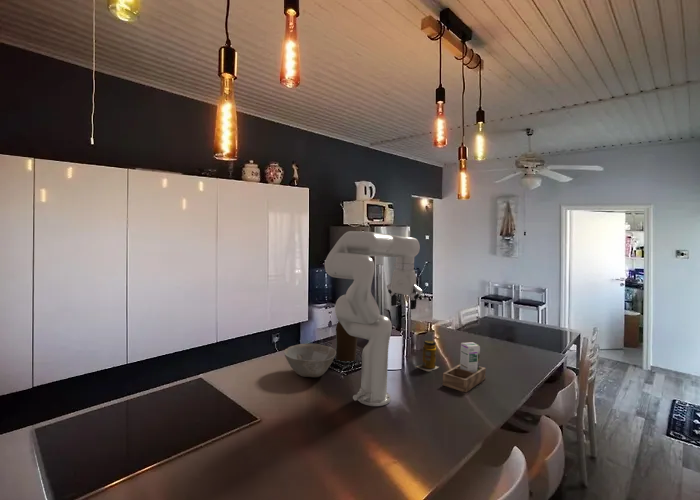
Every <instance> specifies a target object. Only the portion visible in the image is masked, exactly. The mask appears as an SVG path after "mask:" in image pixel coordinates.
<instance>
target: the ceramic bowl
mask: <svg viewBox="0 0 700 500" xmlns="http://www.w3.org/2000/svg"><path fill="white" fill-rule="evenodd" d="M283 354H284V357H285V359H286V361H287V362H288V364H289V365H290V367H291V369H292V370H293V371H294V372H295V373H296V374H297V375H298V376H301V377H303V378H320V377H322V376H323V375H324V374H325V373H326V372H327V371H328V369H329V368H330V366H331V364H333V361H334V359H335V358H336V348H333V347H330V346H328V345H324V344H319V343H299V344H295V345H291V346H288V347H287V348H285V349H284V350H283Z"/></svg>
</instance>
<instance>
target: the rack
mask: <svg viewBox="0 0 700 500" xmlns="http://www.w3.org/2000/svg"><path fill="white" fill-rule="evenodd" d="M486 373H487V370H486V367H483V366H480V365H479V371H477V372H475V373H473V372H470V371H466V370H463V369H460V363H459V364H457V365H455V366H453V367H452V368H450V369H448V370H447V371H444V372H443V373H442V386H445V387H447V388H450V389H452V390H457V391H459V392H462V393H467V392H469V391H470V390H472V389H474V388H475V387H476V386H478V385H480V384H481V383H482V382H484V381H485V380H486Z"/></svg>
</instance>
